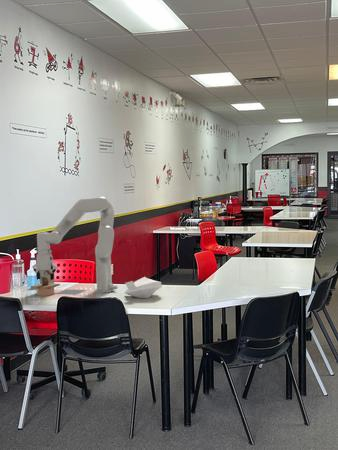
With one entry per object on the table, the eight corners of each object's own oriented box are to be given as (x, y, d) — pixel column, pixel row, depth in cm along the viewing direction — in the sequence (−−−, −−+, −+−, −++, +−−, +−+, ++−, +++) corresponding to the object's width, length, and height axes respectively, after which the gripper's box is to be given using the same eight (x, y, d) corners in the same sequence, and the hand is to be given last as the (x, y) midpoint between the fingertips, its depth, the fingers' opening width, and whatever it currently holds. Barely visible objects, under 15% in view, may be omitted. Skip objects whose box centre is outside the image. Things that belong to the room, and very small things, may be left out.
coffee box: (47, 284, 400) (46, 261, 399) (54, 285, 397) (53, 262, 396) (38, 286, 392) (37, 263, 391) (45, 287, 389) (44, 263, 388)
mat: (87, 291, 372) (87, 290, 372) (76, 295, 358) (76, 294, 358) (66, 290, 377) (66, 289, 377) (54, 294, 363) (54, 293, 363)
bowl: (56, 293, 366) (56, 285, 366) (48, 296, 357) (48, 288, 356) (42, 292, 370) (42, 285, 369) (34, 295, 360) (33, 287, 360)
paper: (146, 291, 364) (145, 272, 363) (170, 297, 345) (170, 276, 344) (112, 297, 348) (112, 277, 348) (136, 303, 330) (135, 281, 329)
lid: (59, 285, 367) (59, 275, 366) (49, 289, 355) (48, 279, 354) (41, 284, 371) (41, 275, 371) (30, 288, 359) (30, 278, 358)
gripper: (59, 251, 362) (60, 278, 363) (35, 251, 368) (36, 278, 369) (53, 253, 355) (54, 280, 356) (28, 252, 361) (30, 280, 362)
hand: (45, 279), depth 363 cm, fingers open, 9 cm apart
